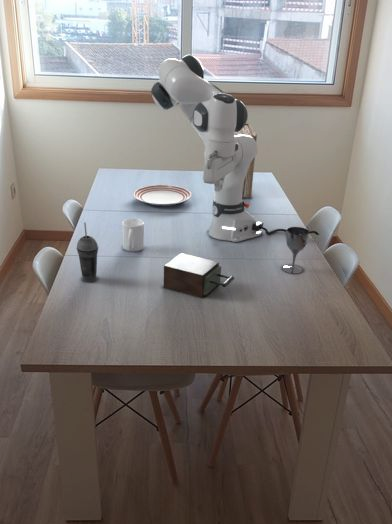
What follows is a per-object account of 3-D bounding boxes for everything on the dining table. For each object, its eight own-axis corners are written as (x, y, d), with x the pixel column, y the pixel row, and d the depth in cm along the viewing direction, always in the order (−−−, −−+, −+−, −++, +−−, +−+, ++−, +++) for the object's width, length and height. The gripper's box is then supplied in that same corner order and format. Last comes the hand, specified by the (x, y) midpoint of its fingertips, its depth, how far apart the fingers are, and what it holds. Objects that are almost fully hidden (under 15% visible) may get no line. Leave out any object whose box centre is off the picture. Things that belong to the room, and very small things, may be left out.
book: (251, 199, 284) (257, 135, 267) (232, 198, 283) (237, 134, 267) (243, 183, 305) (248, 123, 289) (226, 183, 304) (230, 123, 288)
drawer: (235, 286, 199) (237, 269, 196) (222, 299, 190) (223, 282, 187) (185, 273, 206) (186, 257, 203) (170, 286, 197) (170, 269, 194)
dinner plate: (170, 213, 261) (170, 206, 259) (121, 201, 273) (121, 194, 271) (202, 198, 281) (202, 191, 279) (155, 187, 293) (155, 181, 291)
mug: (140, 256, 219) (140, 230, 214) (118, 255, 220) (118, 229, 214) (145, 244, 229) (145, 219, 224) (125, 243, 230) (124, 217, 224)
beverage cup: (82, 285, 197) (78, 229, 186) (76, 276, 202) (71, 221, 192) (103, 281, 200) (100, 226, 189) (95, 273, 205) (92, 218, 195)
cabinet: (217, 283, 203) (219, 261, 198) (201, 297, 193) (203, 275, 189) (180, 274, 208) (181, 252, 203) (163, 287, 198) (163, 265, 194)
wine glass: (305, 267, 217) (311, 228, 209) (301, 275, 211) (307, 236, 203) (284, 263, 219) (289, 225, 211) (279, 271, 213) (284, 232, 205)
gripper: (217, 156, 180) (215, 200, 188) (240, 143, 196) (237, 184, 204) (199, 153, 182) (197, 197, 190) (223, 141, 198) (220, 181, 206)
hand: (218, 190), depth 197 cm, fingers closed
